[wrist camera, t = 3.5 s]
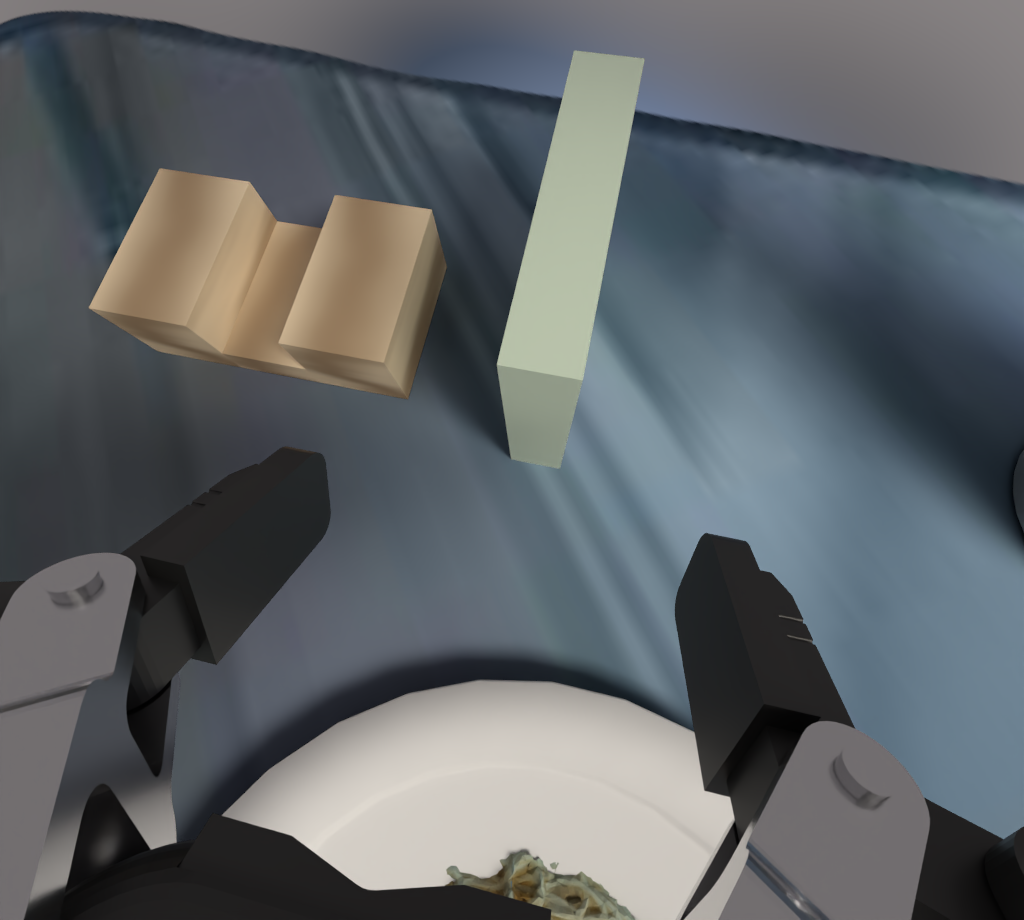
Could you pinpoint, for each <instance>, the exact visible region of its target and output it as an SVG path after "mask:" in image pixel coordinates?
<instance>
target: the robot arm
mask: <svg viewBox="0 0 1024 920" xmlns="http://www.w3.org/2000/svg"><path fill="white" fill-rule="evenodd" d="M1013 496H1014V502H1015V508H1016V513H1017V516H1018V519H1019V521H1020V524H1021V526H1022V529H1023V531H1024V450H1023V451H1022V453H1021V454H1020V456H1019V459H1018V462H1017V465H1016V468H1015V471H1014V482H1013ZM330 514H331V511H330V500H329V490H328V480H327V470H326V462H325V458H324V457H323V455H322V454H320V453H316V452H311V451H306V450H301V449H296V448H292V447H282V448H280V449H279V450H277V451H276V452H275V453H273V454H272V455H271V456H270V457H268V458H267V459H266V460H264V461H263V462H262V463H260V464H259V465H258V464H254V465H252V466H249V467H247V468H244V469H242V470H240V471H237V472H235V473H232V474H230V475H228V476H227V477H225V478H224V479H223V480H221V481H220V482H219V483H217V484H216V485H214V486H213V487H212V488H210V489H209V492H208V493H206V492H205V493H203V494H202V495H201V496H199V497H198V498H197V499H195V500H194V501H193V502H192V505H187V506H186V507H184V508H183V509H182V510H180V511H179V512H177V513H176V514H175V515H173V516H172V517H171V518H169V519H168V520H166V521H165V522H164V523H162V524H161V525H160V526H158V527H157V528H155V529H154V530H153V531H151V532H150V533H149V534H147V535H146V536H144V537H143V538H142V539H140V540H139V541H138V542H136V543H135V544H133V545H132V546H131V547H129V548H128V549H127V550H125V551H124V552H123V553H121V554H116V553H94V554H87V555H82V556H78V557H74V558H71V559H67V560H64V561H62V562H59V563H57V564H54V565H52V566H50V567H48V568H46V569H44V570H42V571H40V572H39V573H37V574H35V575H34V576H32V577H31V578H29V579H28V580H27V581H16V582H0V920H551V909H548V908H544V907H541V906H537V905H534V904H530V903H527V902H523V901H520V900H516V899H513V898H509V897H506V896H502V895H499V894H495V893H492V892H488V891H485V890H481V889H478V888H474V887H471V886H467V885H450V886H434V887H419V888H404V889H388V890H368V889H364V888H362V887H360V886H358V885H357V884H356V883H354V882H353V881H352V880H350V879H349V878H348V877H346V876H345V875H344V874H342V873H341V872H340V871H338V870H337V869H336V868H334V867H333V866H332V865H330V864H329V863H328V862H326V861H325V860H324V859H322V858H321V857H320V856H318V855H317V854H316V853H314V852H313V851H312V850H310V849H309V848H308V847H306V846H305V845H304V844H302V843H301V842H300V841H298V840H297V839H296V838H294V837H293V836H291V835H288V834H284V833H281V832H277V831H274V830H270V829H267V828H263V827H260V826H256V825H253V824H249V823H246V822H242V821H239V820H235V819H232V818H228V817H225V816H221V815H218V814H214V813H213V814H212V815H211V817H210V818H209V820H208V822H207V823H206V825H205V826H204V828H203V829H202V831H201V832H200V834H199V836H198V837H197V839H196V840H188V841H183V842H178V843H176V824H175V816H174V811H173V806H172V798H171V779H172V768H173V758H174V747H175V736H176V725H177V715H178V704H179V693H180V676H179V673H178V671H179V670H180V669H181V668H182V667H183V666H184V665H185V663H186V662H187V661H188V660H189V659H190V658H192V659H196V660H200V661H204V662H208V663H212V664H216V665H217V664H218V662H219V661H220V660H221V659H222V658H223V656H224V655H225V654H226V653H227V652H228V650H229V649H230V648H231V647H232V646H233V645H234V643H235V642H236V641H237V640H238V639H239V637H240V636H241V635H242V634H243V633H244V631H245V630H246V629H247V628H248V627H249V625H250V624H251V623H252V622H253V621H254V619H255V618H256V617H257V616H258V615H259V613H260V612H261V611H262V610H263V609H264V607H265V606H266V605H267V604H268V603H269V602H270V600H271V599H272V598H273V597H274V596H275V594H276V593H277V592H278V591H279V590H280V588H281V587H282V586H283V585H284V584H285V582H286V581H287V580H288V579H289V578H290V576H291V575H292V574H293V573H294V572H295V570H296V569H297V568H298V567H299V566H300V565H301V563H302V562H303V561H304V560H305V559H306V557H307V556H308V555H309V554H310V553H311V551H312V550H313V549H314V548H315V547H316V545H317V544H318V543H319V542H320V541H321V539H322V538H323V536H324V535H325V533H326V531H327V528H328V525H329V521H330ZM675 620H676V626H677V632H678V638H679V644H680V650H681V655H682V661H683V667H684V673H685V679H686V685H687V691H688V697H689V703H690V709H691V715H692V721H693V727H694V733H695V738H696V744H697V750H698V756H699V762H700V768H701V774H702V780H703V786H704V791H707V792H711V793H715V794H719V795H723V796H727V797H730V799H731V804H732V809H733V814H734V819H733V820H732V821H731V823H730V824H729V825H728V827H727V829H726V830H725V832H724V834H723V836H722V837H721V839H720V841H719V843H718V845H717V846H716V848H715V850H714V852H713V853H712V855H711V857H710V859H709V861H708V862H707V864H706V866H705V868H704V870H703V871H702V873H701V875H700V877H699V878H698V880H697V882H696V884H695V886H694V887H693V889H692V891H691V893H690V894H689V896H688V898H687V900H686V902H685V903H684V905H683V907H682V909H681V910H680V912H679V914H678V916H677V918H676V919H675V920H1024V827H1022V828H1020V829H1019V830H1017V831H1016V832H1014V833H1013V834H1011V835H1010V836H1008V837H1007V838H1005V839H1002V838H1000V837H998V836H996V835H994V834H992V833H990V832H988V831H987V830H985V829H983V828H981V827H979V826H977V825H975V824H973V823H971V822H969V821H967V820H965V819H964V818H962V817H960V816H958V815H956V814H954V813H952V812H950V811H948V810H946V809H944V808H942V807H941V806H939V805H937V804H935V803H933V802H931V801H929V800H928V799H926V798H924V797H923V795H922V793H921V791H920V789H919V787H918V786H917V784H916V783H915V781H914V779H913V778H912V777H911V775H910V774H909V773H908V771H907V770H906V769H905V768H904V767H903V765H902V764H901V763H900V762H899V761H898V760H897V759H896V758H895V757H894V756H893V755H892V754H891V753H890V752H889V751H887V750H886V749H885V748H884V747H883V746H881V745H880V744H879V743H877V742H876V741H875V740H873V739H872V738H870V737H869V736H867V735H866V734H864V733H862V732H860V731H858V730H856V729H855V727H854V725H853V723H852V721H851V719H850V717H849V715H848V713H847V710H846V708H845V706H844V704H843V702H842V700H841V698H840V696H839V694H838V691H837V689H836V687H835V685H834V683H833V681H832V679H831V677H830V675H829V672H828V670H827V668H826V666H825V664H824V662H823V660H822V658H821V656H820V654H819V651H818V649H817V647H816V645H813V644H812V641H813V639H812V637H811V635H810V632H809V630H808V628H807V626H806V624H803V618H802V616H801V613H800V611H799V609H798V607H797V605H796V603H795V601H794V599H793V597H792V595H791V594H790V593H789V592H788V591H787V589H786V588H785V587H784V586H783V585H782V584H781V583H780V582H779V581H778V580H777V579H776V578H775V576H774V575H773V574H772V573H770V572H765V571H760V569H759V567H758V565H757V562H756V560H755V558H754V555H753V553H752V550H751V548H750V546H749V544H748V543H747V542H746V541H743V540H738V539H733V538H728V537H723V536H718V535H713V534H708V533H705V534H704V535H703V536H702V537H701V538H700V540H699V542H698V544H697V547H696V549H695V551H694V554H693V556H692V558H691V561H690V563H689V565H688V568H687V570H686V572H685V575H684V577H683V579H682V581H681V584H680V586H679V589H678V592H677V596H676V603H675Z"/></svg>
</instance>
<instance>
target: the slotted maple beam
mask: <svg viewBox="0 0 1024 920" xmlns="http://www.w3.org/2000/svg"><path fill="white" fill-rule="evenodd" d="M446 268H447V265H446V261H445V258H444V254H443V250H442V246H441V242H440V238H439V235H438V231H437V227H436V223H435V219H434V216H433V212H432V210H431V209H425V208H418V207H411V206H405V205H398V204H392V203H385V202H378V201H372V200H365V199H359V198H352V197H345V196H339V195H335V197H334V199H333V202H332V204H331V207H330V210H329V212H328V215H327V217H326V220H325V223H324V225H323V228H316V227H310V226H303V225H297V224H291V223H284V222H278V221H277V220H276V219H275V218H274V216H273V215H272V213H271V212H270V210H269V209H268V207H267V206H266V205H265V203H264V202H263V200H262V199H261V197H260V196H259V195H258V193H257V192H256V190H255V189H254V187H253V186H252V185H251V183H250V182H246V181H240V180H233V179H227V178H220V177H213V176H207V175H200V174H194V173H187V172H180V171H174V170H167V169H161V168H160V169H159V171H158V173H157V175H156V177H155V179H154V181H153V183H152V185H151V187H150V189H149V191H148V193H147V195H146V197H145V199H144V201H143V203H142V205H141V207H140V209H139V211H138V212H137V214H136V216H135V218H134V220H133V222H132V224H131V226H130V228H129V230H128V232H127V234H126V236H125V238H124V240H123V242H122V244H121V246H120V248H119V250H118V252H117V254H116V256H115V258H114V259H113V261H112V263H111V265H110V267H109V269H108V271H107V273H106V275H105V277H104V279H103V281H102V283H101V285H100V287H99V289H98V291H97V293H96V295H95V297H94V299H93V301H92V303H91V305H90V306H89V309H91V310H93V311H94V312H96V313H97V314H99V315H101V316H102V317H104V318H105V319H107V320H109V321H110V322H112V323H113V324H115V325H117V326H118V327H120V328H121V329H123V330H125V331H126V332H128V333H129V334H131V335H133V336H134V337H136V338H137V339H139V340H141V341H142V342H144V343H145V344H147V345H149V346H150V347H152V348H153V349H155V350H157V351H158V352H164V353H169V354H174V355H179V356H184V357H190V358H195V359H200V360H205V361H210V362H216V363H221V364H226V365H231V366H237V367H242V368H247V369H252V370H257V371H263V372H268V373H273V374H278V375H283V376H289V377H294V378H299V379H304V380H310V381H315V382H320V383H325V384H330V385H336V386H341V387H346V388H351V389H356V390H362V391H367V392H372V393H377V394H383V395H388V396H393V397H398V398H403V399H408V397H409V394H410V391H411V387H412V384H413V380H414V377H415V374H416V370H417V367H418V363H419V360H420V357H421V353H422V350H423V346H424V343H425V340H426V336H427V333H428V329H429V326H430V323H431V319H432V316H433V312H434V309H435V306H436V302H437V299H438V296H439V292H440V289H441V285H442V282H443V279H444V275H445V272H446Z"/></svg>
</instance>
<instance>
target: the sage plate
mask: <svg viewBox="0 0 1024 920" xmlns="http://www.w3.org/2000/svg"><path fill="white" fill-rule="evenodd" d="M643 65H644V58H635V57H626V56H617V55H608V54H600V53H591V52H583V51H574V53H573V58H572V61H571V66H570V70H569V74H568V78H567V82H566V86H565V90H564V94H563V98H562V102H561V106H560V110H559V114H558V118H557V122H556V126H555V130H554V134H553V139H552V143H551V147H550V151H549V155H548V159H547V163H546V167H545V171H544V175H543V179H542V183H541V187H540V191H539V195H538V199H537V203H536V207H535V211H534V216H533V220H532V224H531V228H530V232H529V236H528V240H527V244H526V248H525V252H524V256H523V260H522V264H521V268H520V272H519V276H518V280H517V284H516V289H515V293H514V297H513V301H512V305H511V309H510V313H509V317H508V321H507V325H506V329H505V333H504V337H503V341H502V345H501V349H500V353H499V357H498V362H497V370H498V377H499V383H500V390H501V396H502V403H503V409H504V416H505V422H506V429H507V435H508V442H509V448H510V455H511V459H513V460H518V461H523V462H528V463H533V464H538V465H543V466H548V467H553V468H558V469H560V466H561V462H562V458H563V455H564V451H565V447H566V443H567V439H568V435H569V431H570V427H571V423H572V420H573V416H574V412H575V408H576V404H577V400H578V396H579V392H580V389H581V385H582V381H583V376H584V371H585V365H586V360H587V355H588V350H589V345H590V339H591V334H592V329H593V324H594V319H595V314H596V308H597V303H598V298H599V293H600V288H601V282H602V277H603V272H604V267H605V262H606V257H607V251H608V246H609V241H610V236H611V231H612V225H613V220H614V215H615V210H616V205H617V200H618V194H619V189H620V184H621V179H622V174H623V168H624V163H625V158H626V153H627V148H628V143H629V137H630V132H631V127H632V122H633V117H634V111H635V106H636V101H637V96H638V91H639V86H640V80H641V75H642V70H643Z"/></svg>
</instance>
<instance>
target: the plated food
mask: <svg viewBox="0 0 1024 920" xmlns="http://www.w3.org/2000/svg"><path fill="white" fill-rule="evenodd" d="M222 816H225V817H228V818H232V819H235V820H239V821H242V822H246V823H249V824H253V825H256V826H260V827H263V828H267V829H270V830H274V831H277V832H281V833H284V834H288V835H291V836H293V837H294V838H296V839H297V840H298V841H300V842H301V843H302V844H304V845H305V846H306V847H308V848H309V849H310V850H312V851H313V852H314V853H316V854H317V855H318V856H320V857H321V858H322V859H324V860H325V861H326V862H328V863H329V864H330V865H332V866H333V867H334V868H336V869H337V870H338V871H340V872H341V873H342V874H344V875H345V876H346V877H348V878H349V879H350V880H352V881H353V882H354V883H356V884H357V885H358V886H360V887H362V888H364V889H368V890H388V889H404V888H419V887H434V886H450V885H467V886H471V887H474V888H478V889H481V890H485V891H488V892H492V893H495V894H499V895H502V896H506V897H509V898H513V899H516V900H520V901H523V902H527V903H530V904H534V905H537V906H541V907H544V908H548V909H551V920H675V919H676V918H677V916H678V914H679V912H680V910H681V909H682V907H683V905H684V903H685V902H686V900H687V898H688V896H689V894H690V893H691V891H692V889H693V887H694V886H695V884H696V882H697V880H698V878H699V877H700V875H701V873H702V871H703V870H704V868H705V866H706V864H707V862H708V861H709V859H710V857H711V855H712V853H713V852H714V850H715V848H716V846H717V845H718V843H719V841H720V839H721V837H722V836H723V834H724V832H725V830H726V829H727V827H728V825H729V824H730V823H731V821H732V820H733V819H734V814H733V809H732V804H731V799H730V797H727V796H723V795H719V794H715V793H711V792H707V791H704V786H703V780H702V774H701V768H700V762H699V756H698V750H697V744H696V738H695V733H694V731H692V730H689V729H687V728H685V727H683V726H681V725H679V724H677V723H675V722H672V721H670V720H668V719H666V718H664V717H662V716H660V715H658V714H655V713H653V712H651V711H649V710H647V709H645V708H643V707H641V706H638V705H636V704H634V703H632V702H630V701H628V700H626V699H622V698H618V697H614V696H610V695H606V694H602V693H598V692H594V691H589V690H585V689H581V688H577V687H573V686H569V685H565V684H561V683H557V682H552V681H517V680H474V681H469V682H464V683H459V684H453V685H448V686H443V687H437V688H432V689H427V690H422V691H416V692H411V693H407V694H405V695H402V696H400V697H398V698H395V699H393V700H390V701H388V702H386V703H383V704H381V705H378V706H376V707H374V708H371V709H369V710H366V711H364V712H362V713H359V714H357V715H355V716H352V717H350V718H347V719H345V720H343V721H340V722H338V723H337V724H335V725H334V726H332V727H331V728H329V729H328V730H326V731H325V732H323V733H322V734H320V735H319V736H318V737H316V738H315V739H313V740H312V741H310V742H309V743H307V744H306V745H304V746H303V747H301V748H300V749H298V750H297V751H295V752H294V753H292V754H291V755H289V756H288V757H286V758H285V759H283V760H282V761H280V762H279V763H277V764H276V765H274V766H273V767H272V768H270V769H269V770H268V771H267V772H266V773H265V774H264V775H262V776H261V777H260V778H259V779H258V780H257V781H256V782H255V783H254V784H253V785H252V786H251V787H250V788H249V789H248V790H247V791H246V792H245V793H244V794H243V795H242V796H241V797H240V798H239V799H238V800H237V801H236V802H235V803H234V804H233V805H232V806H231V807H230V808H229V809H228V810H227V811H226V812H225V813H224V814H223V815H222Z"/></svg>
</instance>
